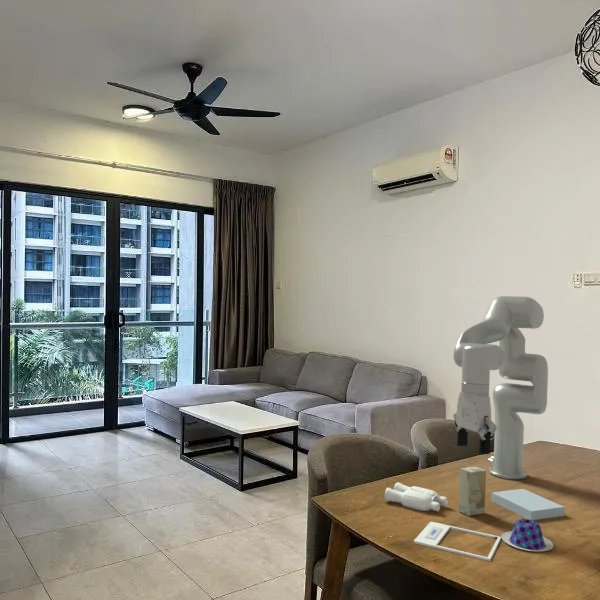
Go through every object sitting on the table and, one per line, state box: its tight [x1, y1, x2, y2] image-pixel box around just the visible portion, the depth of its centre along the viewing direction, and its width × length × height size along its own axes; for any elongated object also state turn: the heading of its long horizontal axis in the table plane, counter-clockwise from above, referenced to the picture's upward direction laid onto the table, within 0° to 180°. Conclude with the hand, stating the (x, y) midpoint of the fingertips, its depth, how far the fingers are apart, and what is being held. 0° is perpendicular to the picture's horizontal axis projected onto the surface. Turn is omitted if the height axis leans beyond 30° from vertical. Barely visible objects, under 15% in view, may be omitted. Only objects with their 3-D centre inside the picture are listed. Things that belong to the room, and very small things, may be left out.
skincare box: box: [457, 466, 487, 517], centre depth 160 cm, size 6×4×12 cm
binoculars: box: [384, 482, 449, 512], centre depth 165 cm, size 10×16×5 cm, turn 55°
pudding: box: [501, 518, 554, 552], centre depth 141 cm, size 12×12×5 cm
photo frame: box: [413, 521, 502, 562], centre depth 140 cm, size 15×1×18 cm
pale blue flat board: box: [491, 488, 566, 521], centre depth 165 cm, size 16×12×3 cm
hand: (473, 449), depth 160 cm, fingers open, 9 cm apart
